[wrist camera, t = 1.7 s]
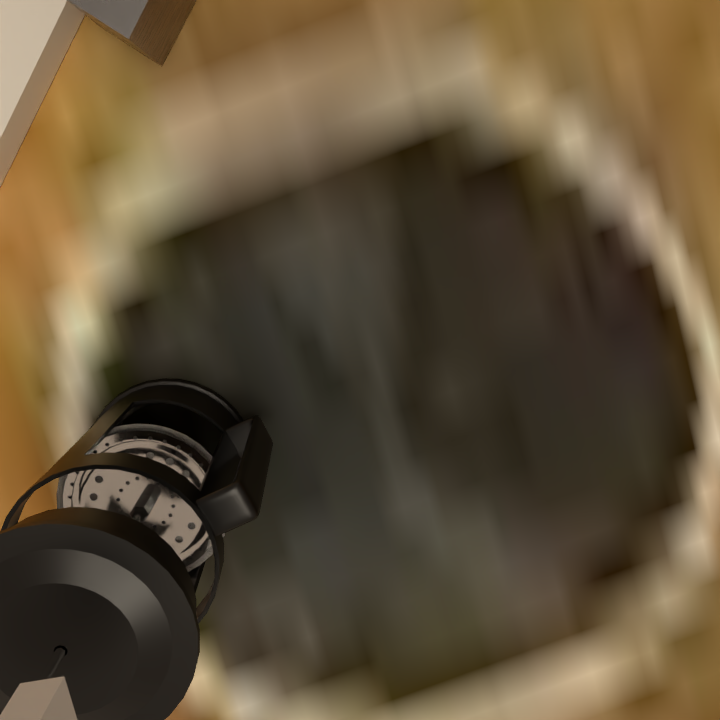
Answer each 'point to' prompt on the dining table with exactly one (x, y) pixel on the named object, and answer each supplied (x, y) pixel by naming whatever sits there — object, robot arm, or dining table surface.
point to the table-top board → (29, 63)
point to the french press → (126, 555)
